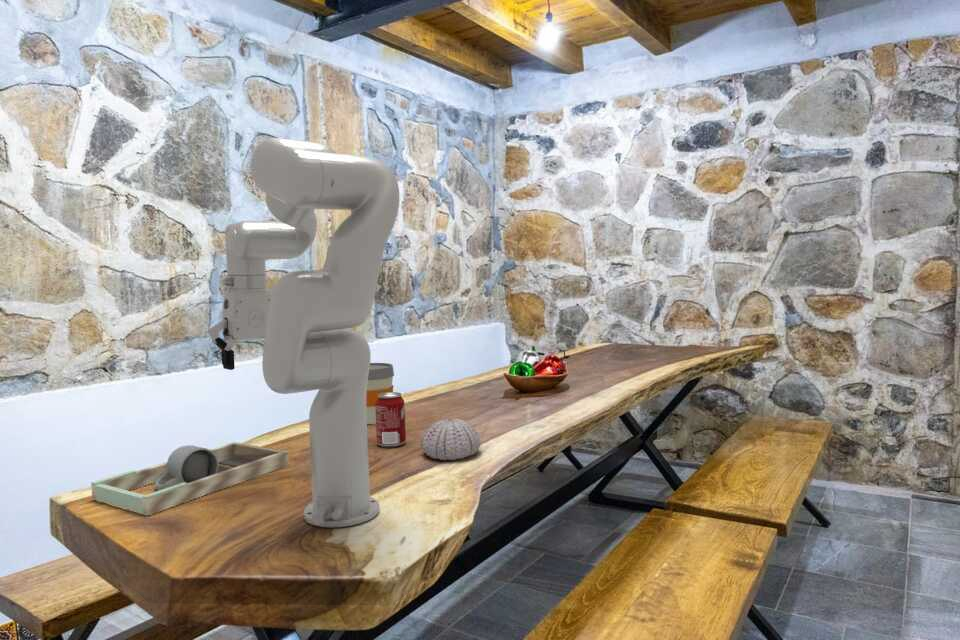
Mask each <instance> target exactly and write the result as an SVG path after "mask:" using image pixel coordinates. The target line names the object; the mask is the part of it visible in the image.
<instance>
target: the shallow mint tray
mask: <svg viewBox="0 0 960 640" xmlns="http://www.w3.org/2000/svg"><path fill="white" fill-rule="evenodd" d="M136 471H137V470H133V469H132V470H129V471H126V472H123V473H119V474H115V475H112V476H109V477H106V478H102V479H98V480H95V481H92V482H90V484H91V485H94V486H95V485H96V486H95V492H96V500H97V501H101V502H105V503H109V504H112V505H116V506H119V507H123V508H126V509H129V510H133V511H136V512H139V513H142V514H144V512H143V499H150V498H153V497H156V496H159V495H162V494H164V493H167V492H170V491H173V490H176V489H179V488H182V487H185V486H188V483H184V482H183V483H180V484H177V485H174V486H171V487H168V488H165V489H162V490H159V491H158V490H155V491H154V492H151V493H148V494H142V493H138V492H135V491H132V490H131V491H127V490H124V489H120V488H116V487H112V486H108V485H105V484H102V483H105V482H109V481H112V480H115V479H119V478H122V477H125V476H129V475H132V474H136Z"/></svg>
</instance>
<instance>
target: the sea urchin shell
mask: <svg viewBox="0 0 960 640" xmlns="http://www.w3.org/2000/svg"><path fill="white" fill-rule="evenodd" d="M480 437H481V436H480V435H479V433H478V432H477V430H476V428H474V427H473V425H472V424H470V423H469V422H467V421H465V420H462V419H459V418H446V419H441V420H438V421H436V422H434V423H433V424H432V425H430V427H428V429H427V430H426V432H424V434H423V435H422V437H421V440H420V446H421V448H420V449H421V450H422V451H423V452H424V454H426V456H429V458H432V459H435V460H440V461H447V460H449V461H456V460H463V459H465V458H467V457H470V456H472V455H474V454H475V453H476V452H478V450H479V449H480V447H481V444H482V442H481V441H482V440H481V439H480Z"/></svg>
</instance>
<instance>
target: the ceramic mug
mask: <svg viewBox="0 0 960 640" xmlns="http://www.w3.org/2000/svg"><path fill="white" fill-rule="evenodd" d="M218 465H219V462H218V459H217V457H216V455H215V454H214V453H213V452H212V451H211V450H210V448H206V447H201V446H195V445H183V446H180V447H178V448H176V449H174V450H173V451H172V452H171V454H170V455H169V456H168V459H167V469H168V472H166V473H165V474H164V475H162V476H161V477H160V478H158V479H157V481H156V482H155V483H154V487H155V488H156V491H159V490H162V489H165V488H168V487H171V486H174V485H177V484H180V483H183V482H184V483H190V482H193V481H196V480H199V479H202V478H205V477H208V476H211V475H214V474H217V471H218ZM171 479H172V480H171ZM169 480H170V481H169Z"/></svg>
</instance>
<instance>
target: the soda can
mask: <svg viewBox="0 0 960 640" xmlns="http://www.w3.org/2000/svg"><path fill="white" fill-rule="evenodd" d="M375 406H376V424H375V426H376V444H378V445H379V446H381V447H383V448H388V447H390V448H397V446H398V447H401V446H402V445H403V444H405V443H406V441H407V438H406V437H407V435H406V433H407V432H406V409H405V408H406V407H405V400H404V398H403V397H402V393H401V392H397V391H393V392H386V393H381V394H378V399H377V401H376V403H375Z"/></svg>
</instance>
